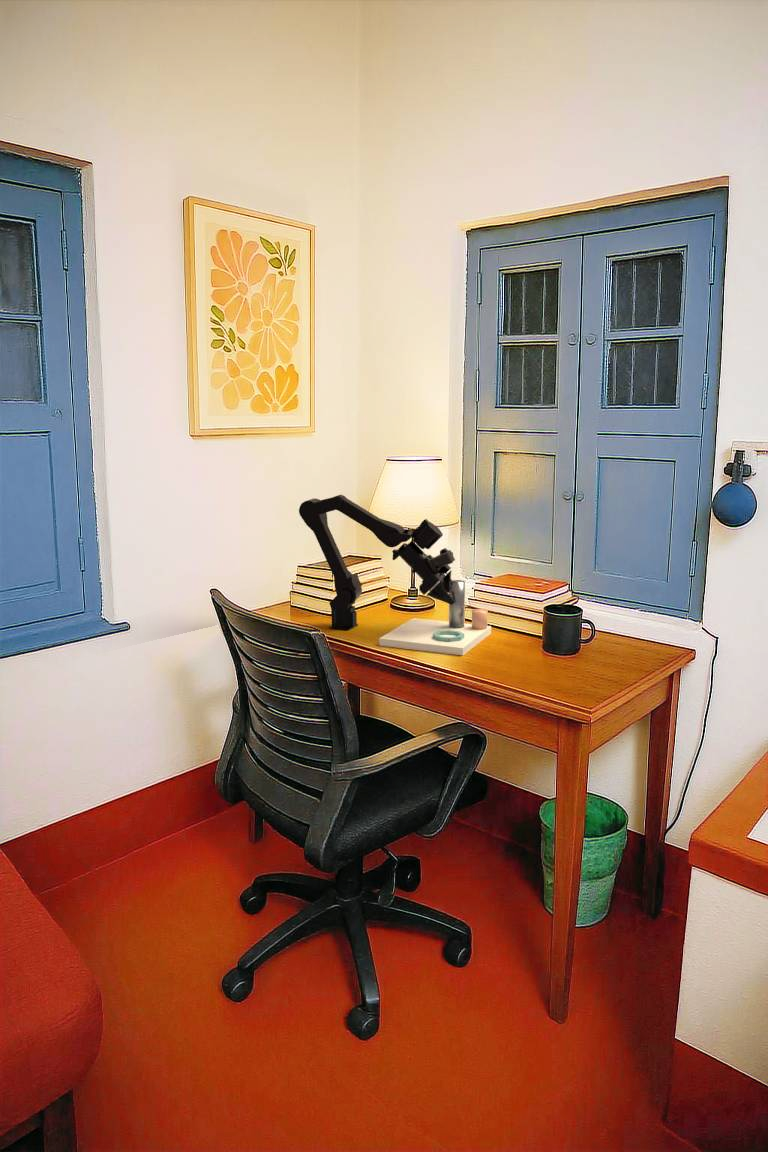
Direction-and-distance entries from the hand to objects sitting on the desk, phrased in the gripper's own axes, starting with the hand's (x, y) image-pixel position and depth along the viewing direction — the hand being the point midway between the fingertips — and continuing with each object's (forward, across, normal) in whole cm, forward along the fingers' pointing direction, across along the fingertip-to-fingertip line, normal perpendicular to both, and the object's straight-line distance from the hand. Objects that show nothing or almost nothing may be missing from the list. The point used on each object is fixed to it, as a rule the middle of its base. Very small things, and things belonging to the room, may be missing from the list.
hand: (456, 599), depth 248 cm
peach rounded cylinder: (+10, 0, +1) cm, 10 cm away
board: (+4, -7, +10) cm, 13 cm away
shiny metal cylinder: (+6, 0, +5) cm, 8 cm away
